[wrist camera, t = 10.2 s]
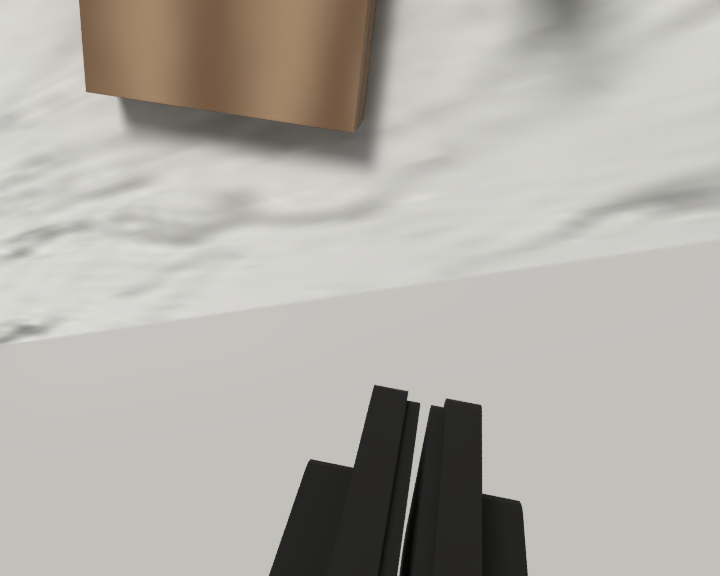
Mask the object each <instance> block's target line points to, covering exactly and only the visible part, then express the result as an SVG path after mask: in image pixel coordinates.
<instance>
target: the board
mask: <svg viewBox="0 0 720 576" xmlns="http://www.w3.org/2000/svg"><path fill="white" fill-rule="evenodd" d="M79 5H80V18H81V31H82V44H83V57H84V70H85V83H86V92H90V93H96V94H103V95H110V96H116V97H123V98H129V99H136V100H142V101H149V102H156V103H162V104H169V105H175V106H182V107H188V108H195V109H202V110H208V111H215V112H221V113H228V114H234V115H241V116H248V117H254V118H261V119H267V120H274V121H280V122H287V123H293V124H300V125H307V126H313V127H320V128H326V129H333V130H339V131H346V132H353V133H354V131H355V130H356V129H357V127H358V126H359V125H360V123H361V122H362V120H363V116H364V107H365V98H366V89H367V80H368V71H369V62H370V53H371V45H372V36H373V27H374V18H375V9H376V0H79Z"/></svg>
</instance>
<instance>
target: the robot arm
mask: <svg viewBox="0 0 720 576" xmlns="http://www.w3.org/2000/svg"><path fill="white" fill-rule="evenodd" d="M407 396H408V391H403V390H398V389H393V388H387V387H382V386H377V385H375V386H374V389H373V392H372V397H371V400H370V404H369V408H368V412H367V416H366V420H365V424H364V428H363V432H362V436H361V440H360V444H359V449H358V452H357V456H356V460H355V464H354V468H351V467H347V466H341V465H337V464H331V463H327V462H322V461H317V460H310V461H309V462H308V464H307V467H306V469H305V472H304V475H303V478H302V481H301V484H300V487H299V490H298V493H297V496H296V498H295V501H294V504H293V507H292V510H291V513H290V516H289V519H288V522H287V525H286V528H285V530H284V534H283V536H282V539H281V542H280V545H279V548H278V551H277V554H276V557H275V560H274V563H273V566H272V568H271V571H270V574H269V576H397V572H398V565H399V557H400V550H401V542H402V534H403V528H404V520H405V513H406V506H407V498H408V491H409V483H410V476H411V469H412V461H413V453H414V446H415V439H416V431H417V424H418V416H419V409H420V403H417V402H412V401H407ZM399 576H528V574H527V561H526V548H525V536H524V522H523V511H522V506H521V503H520V501H516V500H511V499H506V498H501V497H496V496H491V495H486V494H482V407H481V405H478V404H472V403H467V402H462V401H457V400H451V399H446V401H445V404H444V408H443V407H438V406H433V405H431V408H430V412H429V417H428V422H427V427H426V433H425V437H424V443H423V448H422V452H421V457H420V462H419V468H418V472H417V478H416V483H415V488H414V493H413V498H412V503H411V508H410V513H409V518H408V523H407V528H406V533H405V539H404V545H403V553H402V560H401V567H400V575H399Z"/></svg>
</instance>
